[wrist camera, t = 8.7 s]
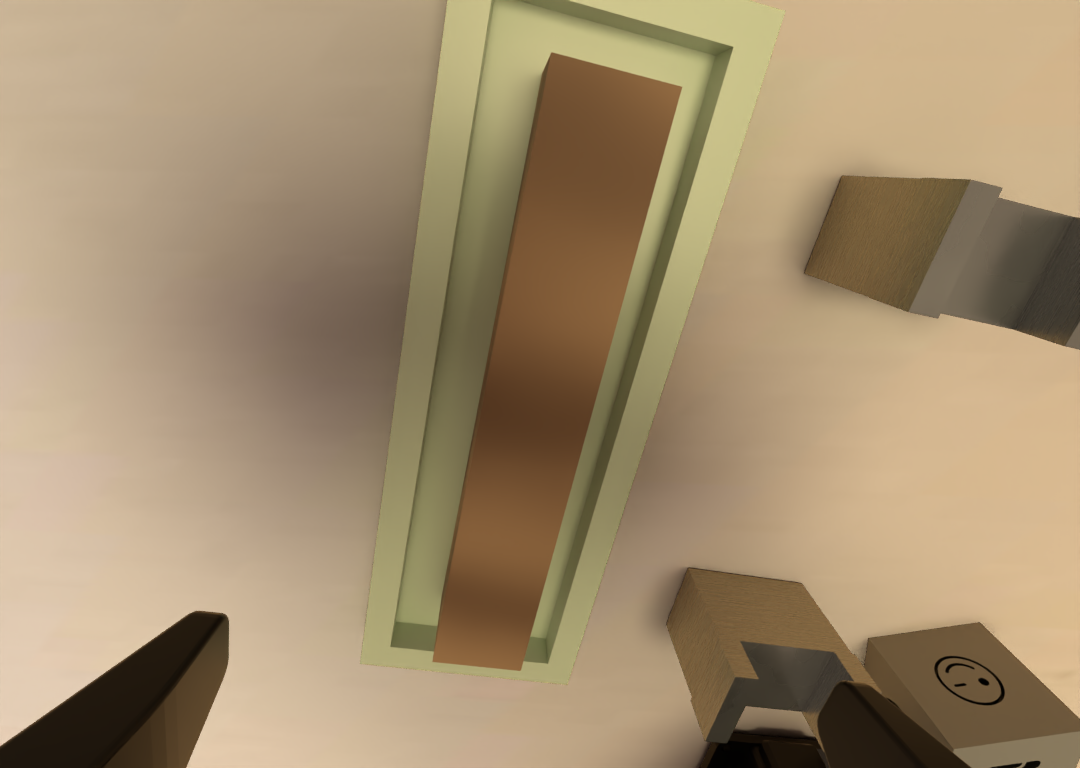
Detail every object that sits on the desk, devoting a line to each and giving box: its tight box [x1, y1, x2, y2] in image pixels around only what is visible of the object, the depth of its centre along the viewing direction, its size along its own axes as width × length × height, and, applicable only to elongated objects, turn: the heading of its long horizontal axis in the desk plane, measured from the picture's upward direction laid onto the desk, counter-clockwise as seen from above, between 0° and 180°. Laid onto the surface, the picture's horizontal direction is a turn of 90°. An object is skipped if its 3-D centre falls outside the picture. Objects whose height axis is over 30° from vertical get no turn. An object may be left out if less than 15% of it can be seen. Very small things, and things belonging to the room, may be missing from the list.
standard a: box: [666, 568, 882, 752], centre depth 20 cm, size 3×5×5 cm, turn 78°
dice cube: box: [864, 622, 1080, 768], centre depth 23 cm, size 5×5×5 cm
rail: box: [432, 52, 682, 671], centre depth 16 cm, size 18×3×3 cm, turn 168°
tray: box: [360, 0, 785, 685], centre depth 18 cm, size 23×8×2 cm, turn 168°
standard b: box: [804, 176, 1080, 349], centre depth 15 cm, size 3×5×5 cm, turn 78°
